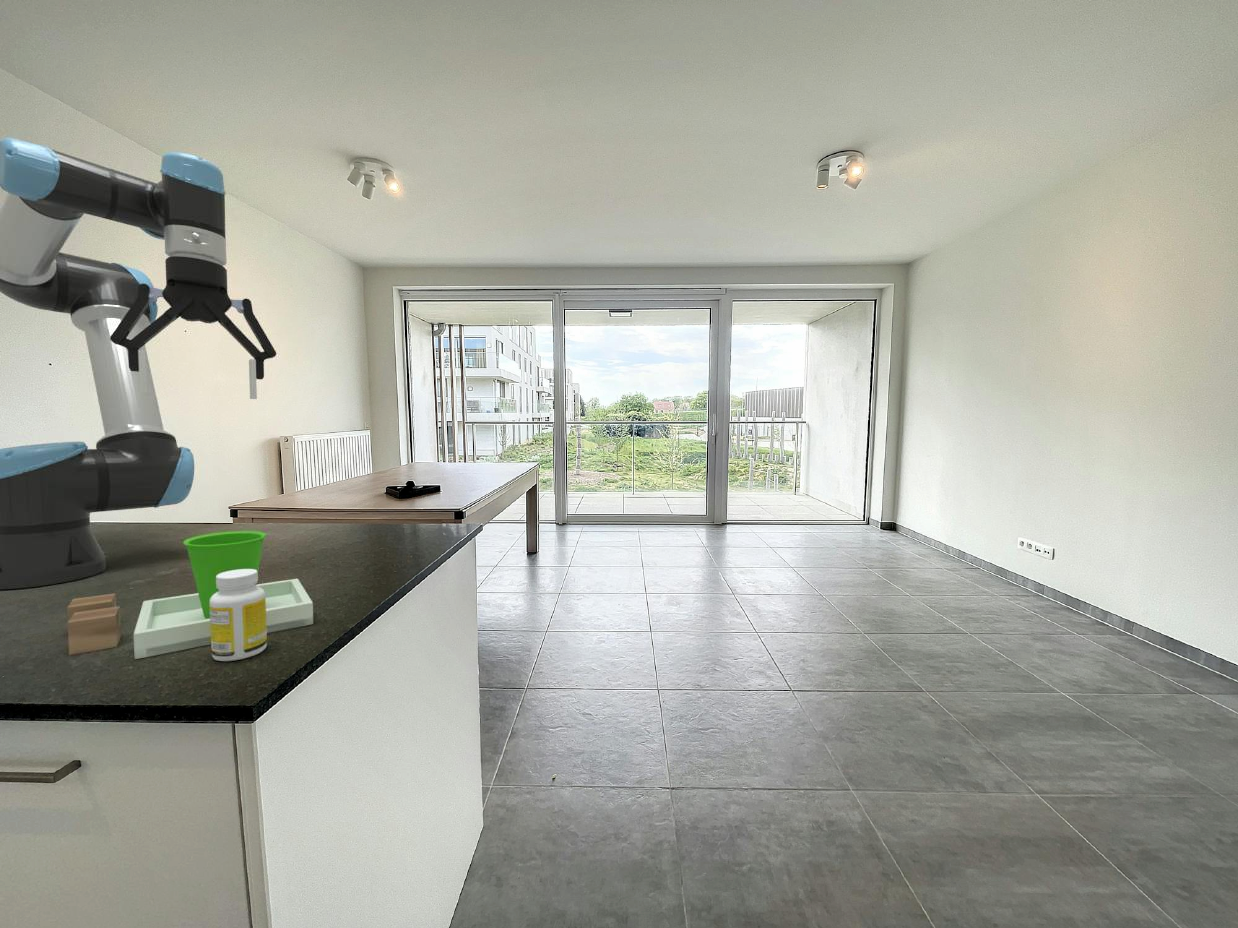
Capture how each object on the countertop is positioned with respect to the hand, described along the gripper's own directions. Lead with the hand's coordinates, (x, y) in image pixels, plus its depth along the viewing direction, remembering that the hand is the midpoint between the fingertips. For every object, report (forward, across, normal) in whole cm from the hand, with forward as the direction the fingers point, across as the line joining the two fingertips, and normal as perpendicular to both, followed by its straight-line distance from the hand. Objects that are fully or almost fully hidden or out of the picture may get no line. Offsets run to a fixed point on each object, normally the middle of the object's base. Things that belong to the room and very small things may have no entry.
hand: (201, 396), depth 82 cm
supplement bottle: (+32, +3, -32) cm, 45 cm away
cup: (+31, +2, -20) cm, 37 cm away
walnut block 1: (+32, -12, -12) cm, 36 cm away
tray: (+32, +2, -20) cm, 38 cm away
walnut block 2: (+32, -11, -19) cm, 39 cm away
